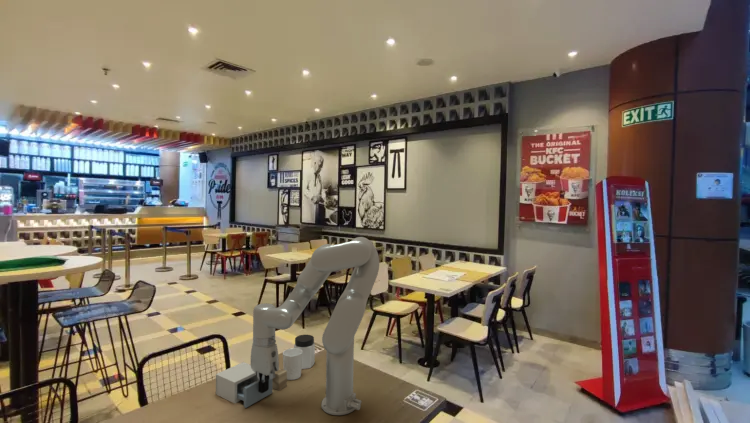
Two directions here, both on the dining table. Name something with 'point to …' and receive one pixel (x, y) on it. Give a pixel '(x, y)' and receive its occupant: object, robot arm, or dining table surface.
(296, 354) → the white cup
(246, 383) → the disc
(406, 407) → the dining table surface
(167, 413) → the dining table surface
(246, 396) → the blue-grey open box
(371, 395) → the dining table surface
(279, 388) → the beige block
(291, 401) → the dining table surface
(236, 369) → the housing
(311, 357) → the jar
